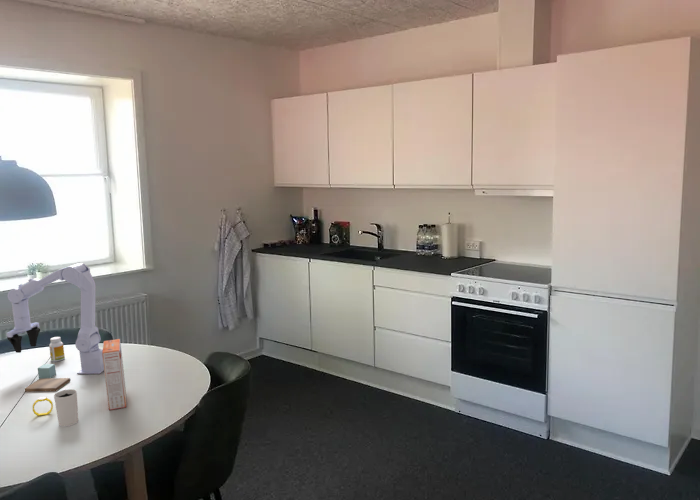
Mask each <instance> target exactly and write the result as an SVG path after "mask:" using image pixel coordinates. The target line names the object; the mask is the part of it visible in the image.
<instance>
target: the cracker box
mask: <svg viewBox="0 0 700 500" xmlns="http://www.w3.org/2000/svg"><path fill="white" fill-rule="evenodd" d="M102 344H103V345H102V349H103V351H102V356H103V364H104V371H103V372H104V381H105V387H106V388H105V389H106V397H107V403H108V410H109V411H113V410H118V409H123V408H126V407H127V389H126V387H127V386H126V377H125V370H124V361H123V353H122V344H121V338H117V339H116V338H115V339H109V340H104V341H103V343H102Z"/></svg>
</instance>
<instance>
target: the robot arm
mask: <svg viewBox="0 0 700 500" xmlns="http://www.w3.org/2000/svg"><path fill="white" fill-rule="evenodd" d="M58 280H59V281H65V282H67V283H69V284H71V285H73V286H76V287H77V288H78V289H79V290H80V329H79V331H78V334H77V338H76V339H75V347H76V349H77V351H78V352H79V358H80V367H81V368H80V370H79V371H78V372H77V374H78V375H82V374H83V375H86V374H87V375H88V374H89V375H94V374H95V375H96V374H101V373H103V372H104V364H103V356H102V351H103V348H100V347H99V344H100V342H101V340H102V339H101V335H100V332H99V328H98V326H96V290H97V288H96V286H97V285H96V282H95V280H94V278H93V275H92V274H91V268H90V267H89V266H87V265H86V264H85V263H83V262H77V263H75V264H71V265H68V266H66V267H62V268H59V269H57V270H55V271H53V272H51V273H49V274H48V275H46V276H44V277H42V278H33V277H32V278H29V279H28V281H27V282H25V283H24V284H23V283H21V284H19V285H18V287H15V288H11V289H10V290H9V291H8V292H7V300H8V301H9V302H10V303H11V306H12V307H11V308H12V309H11V310H12V315H13V323H14V327H13V329H11V330H9V331H7V332H6V339H7V340H8V342H10V343H11V345H12V347H13V349H14V351H15V353H19V354H21V353H22V340H23V336H22V335H20V334H22V333H25V332H26V334H27V337H28V342H29V345H30V347H34V348H35V347H37V342H38V338H39V333H40V332H41V327H40V322H36V321H35V322H32V321H31V313H30V307H29V299H30V298H31V297H33V296H35V295H38V294H39V293H41V292H43V291H44V289H45V286H48V285H50V284H52V283H54V282H56V281H58Z"/></svg>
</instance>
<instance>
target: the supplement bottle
mask: <svg viewBox="0 0 700 500" xmlns="http://www.w3.org/2000/svg"><path fill="white" fill-rule="evenodd" d="M49 341H50V343H49V346H48V347H49V355H50V360H51V362H60V361H63V360H65V358H66V357H65V348H64V343H63V342H62V339H61V336H54V337H51V338H50V340H49Z"/></svg>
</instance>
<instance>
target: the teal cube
mask: <svg viewBox="0 0 700 500" xmlns="http://www.w3.org/2000/svg"><path fill="white" fill-rule="evenodd" d="M37 373H38V379H40V378H53V377H54V376H56V375H57V370H56V364H55V363H45V364H44V363H43V364H42V365H41V366H39V367H38V368H37Z"/></svg>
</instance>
